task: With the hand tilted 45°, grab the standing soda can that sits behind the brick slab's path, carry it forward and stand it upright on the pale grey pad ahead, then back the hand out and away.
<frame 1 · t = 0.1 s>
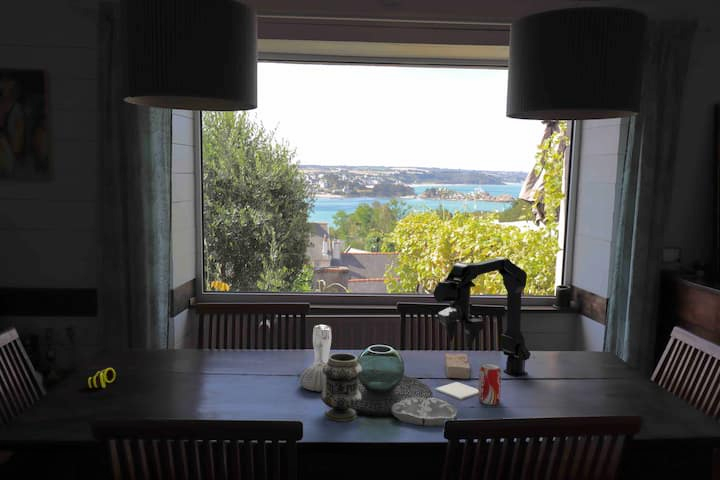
hand: (459, 344, 199), 15 cm above the table, tool pointing down, fingers open, 9 cm apart
brick: (457, 372, 216), on the table
apothecary jar: (341, 415, 172), on the table
soda can: (488, 402, 186), on the table
yellow coil spring: (101, 385, 193), on the table
sea urchin shell: (319, 388, 196), on the table
brain slice: (423, 417, 174), on the table
beer glass: (321, 366, 218), on the table
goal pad: (458, 391, 195), on the table
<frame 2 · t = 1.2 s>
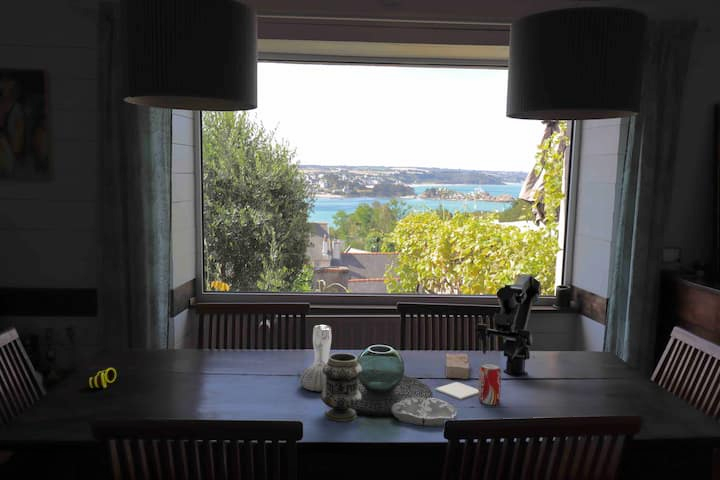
hand: (497, 355, 191), 13 cm above the table, tool tilted 45°, fingers open, 9 cm apart
nothing on the table moved.
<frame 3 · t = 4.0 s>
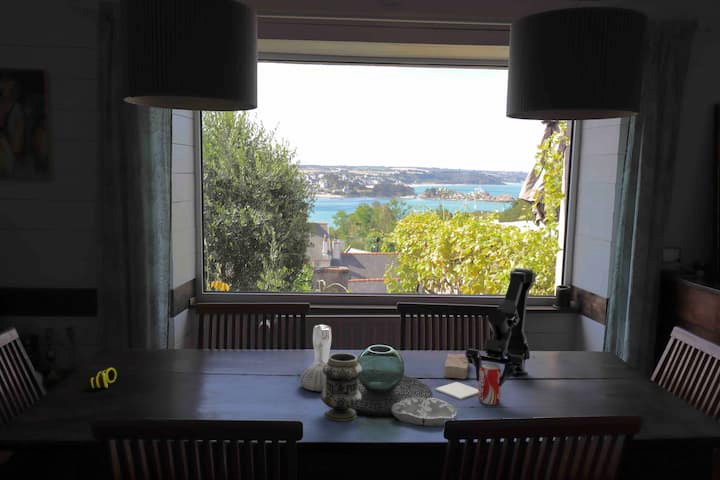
hand: (488, 383, 184), 7 cm above the table, tool tilted 45°, fingers closed on soda can, 7 cm apart
soda can: (488, 402, 186), on the table, touching gripper
everything else where it was.
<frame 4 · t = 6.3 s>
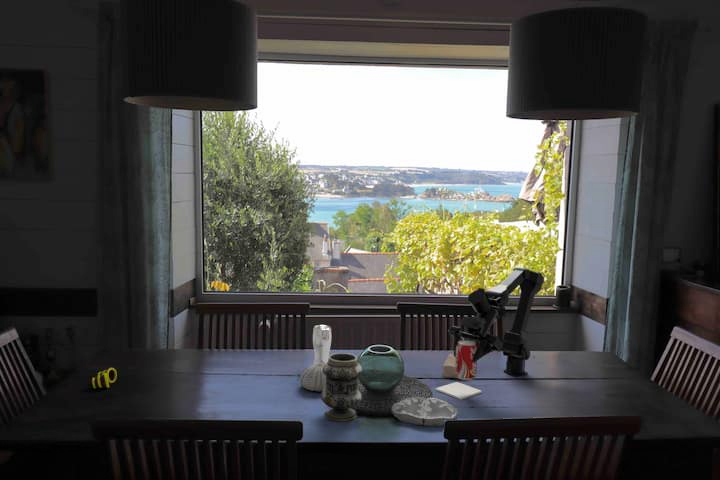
hand: (463, 359, 190), 12 cm above the table, tool tilted 45°, fingers closed on soda can, 7 cm apart
soda can: (465, 378, 192), point 5 cm above the table, touching gripper
everything else where it was.
when the fingers open (8 cm above the table, at t = 8.5 s): soda can stays where it is, resting on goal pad.
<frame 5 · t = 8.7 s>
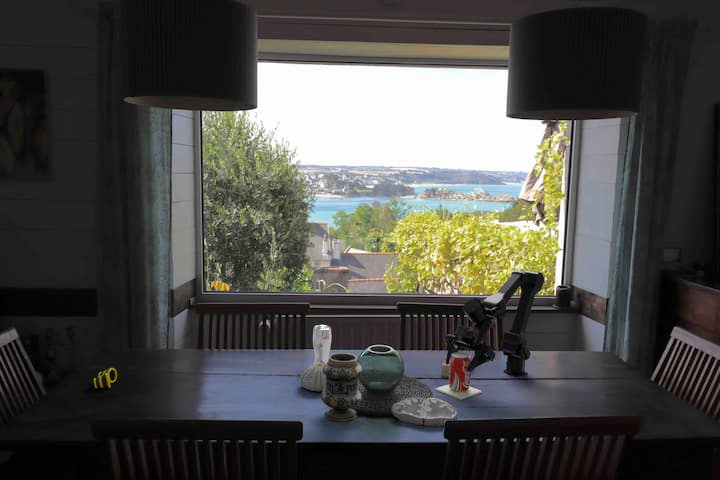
hand: (456, 367, 193), 9 cm above the table, tool tilted 45°, fingers open, 9 cm apart
soda can: (459, 389, 195), resting on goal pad
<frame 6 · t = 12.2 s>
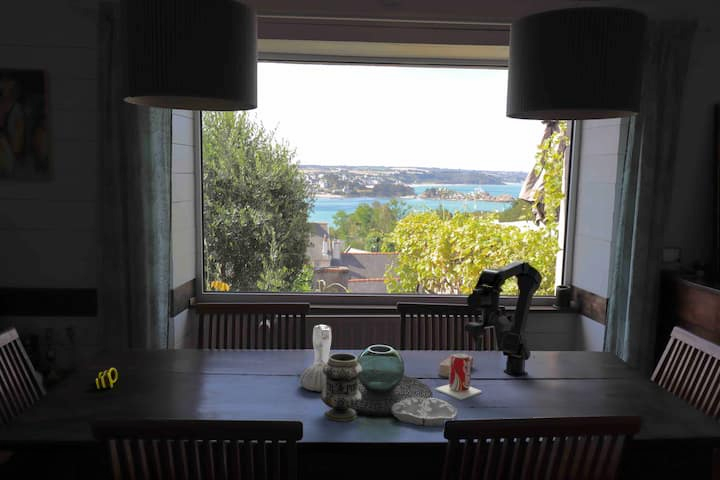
hand: (489, 349, 202), 12 cm above the table, tool pointing down, fingers open, 9 cm apart
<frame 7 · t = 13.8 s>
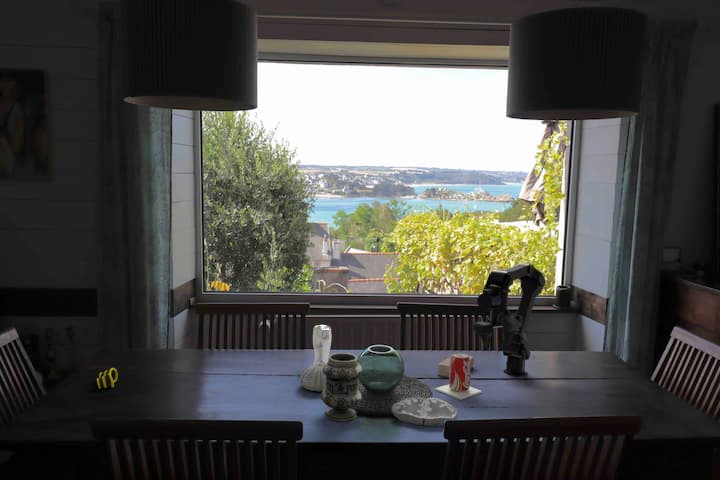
hand: (497, 349, 204), 12 cm above the table, tool pointing down, fingers open, 9 cm apart
at the end: soda can inside the target area on the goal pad (0.2 cm from its centre), point 0.4 cm above the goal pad's base; soda can tilted 0°; the gripper is holding nothing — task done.
